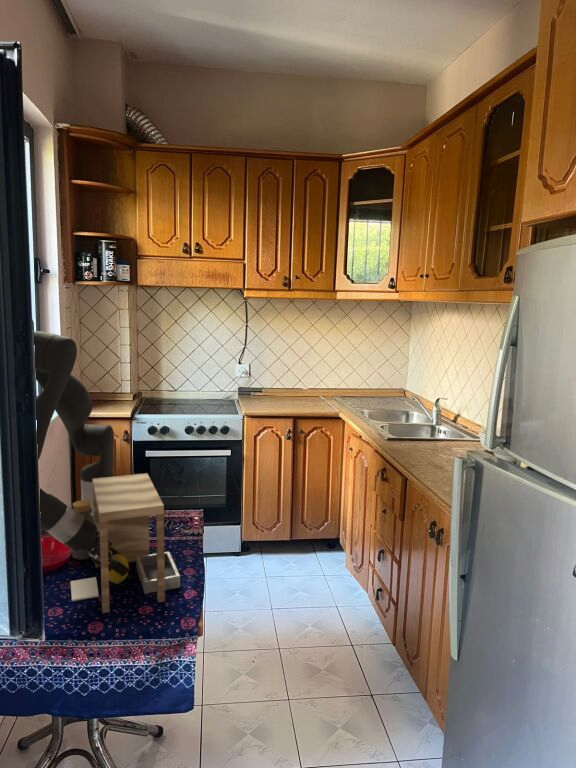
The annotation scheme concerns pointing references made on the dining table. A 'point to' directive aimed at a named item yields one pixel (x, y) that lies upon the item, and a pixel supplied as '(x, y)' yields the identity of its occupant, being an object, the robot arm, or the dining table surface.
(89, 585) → the pad
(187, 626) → the dining table surface
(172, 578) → the open rectangular box
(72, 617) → the dining table surface
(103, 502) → the small wooden table
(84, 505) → the bottle
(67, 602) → the dining table surface
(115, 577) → the lemon
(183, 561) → the dining table surface
